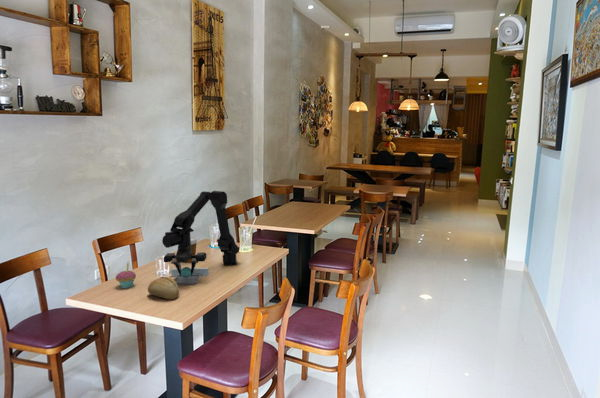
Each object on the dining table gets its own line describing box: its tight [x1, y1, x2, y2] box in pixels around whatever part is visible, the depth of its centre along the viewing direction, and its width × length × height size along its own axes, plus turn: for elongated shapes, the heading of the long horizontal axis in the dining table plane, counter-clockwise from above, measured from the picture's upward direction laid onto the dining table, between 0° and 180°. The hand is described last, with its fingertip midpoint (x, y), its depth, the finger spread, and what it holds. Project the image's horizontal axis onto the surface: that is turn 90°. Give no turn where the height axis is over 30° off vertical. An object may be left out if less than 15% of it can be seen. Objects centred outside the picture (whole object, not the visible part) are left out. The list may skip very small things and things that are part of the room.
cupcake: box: [115, 262, 137, 289], centre depth 203 cm, size 9×8×12 cm
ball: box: [181, 266, 191, 278], centre depth 209 cm, size 5×5×5 cm
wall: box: [170, 267, 210, 277], centre depth 217 cm, size 18×1×4 cm, turn 91°
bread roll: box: [147, 276, 180, 300], centre depth 191 cm, size 10×15×8 cm, turn 65°
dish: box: [173, 274, 202, 286], centre depth 210 cm, size 11×11×1 cm
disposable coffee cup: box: [185, 236, 198, 264], centre depth 240 cm, size 10×10×12 cm
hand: (186, 274), depth 210 cm, fingers closed on ball, 5 cm apart
